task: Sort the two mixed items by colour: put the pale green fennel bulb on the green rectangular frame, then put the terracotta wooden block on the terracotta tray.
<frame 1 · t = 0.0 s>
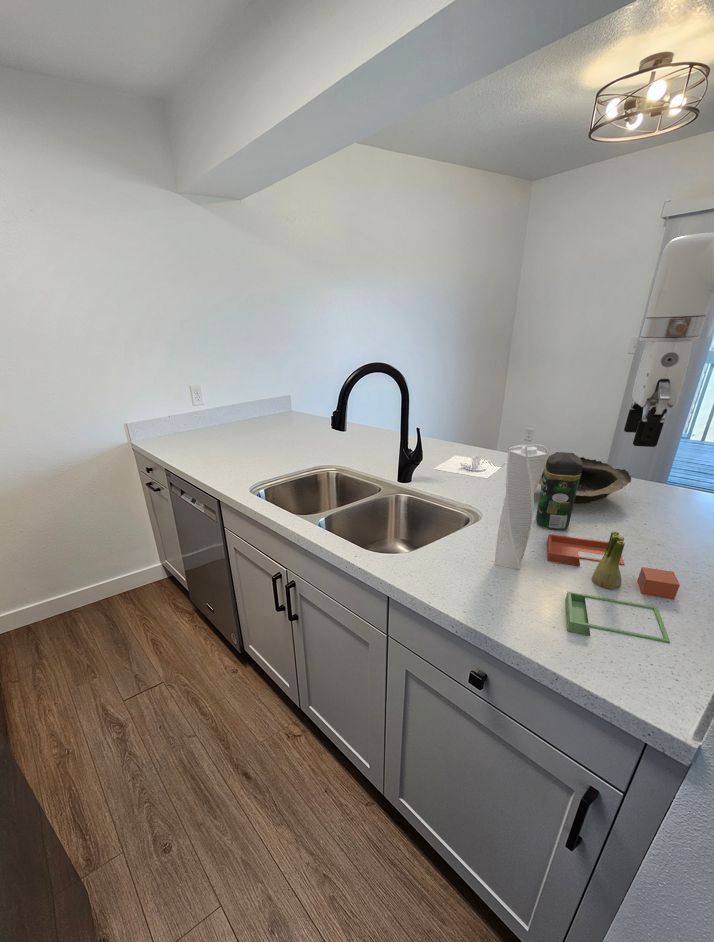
hand: (638, 438, 76), 30 cm above the worktop, tool pointing down, fingers open, 9 cm apart
fennel bulb: (603, 590, 88), on the worktop
coffee jar: (550, 524, 115), on the worktop
teacup and saucer: (469, 466, 160), on the worktop
stone bowl: (572, 498, 129), on the worktop
skyscraper: (508, 562, 99), on the worktop
green rectangular frame: (611, 623, 78), on the worktop
terracotta block: (652, 597, 84), on the worktop
terracotta tray: (581, 555, 99), on the worktop
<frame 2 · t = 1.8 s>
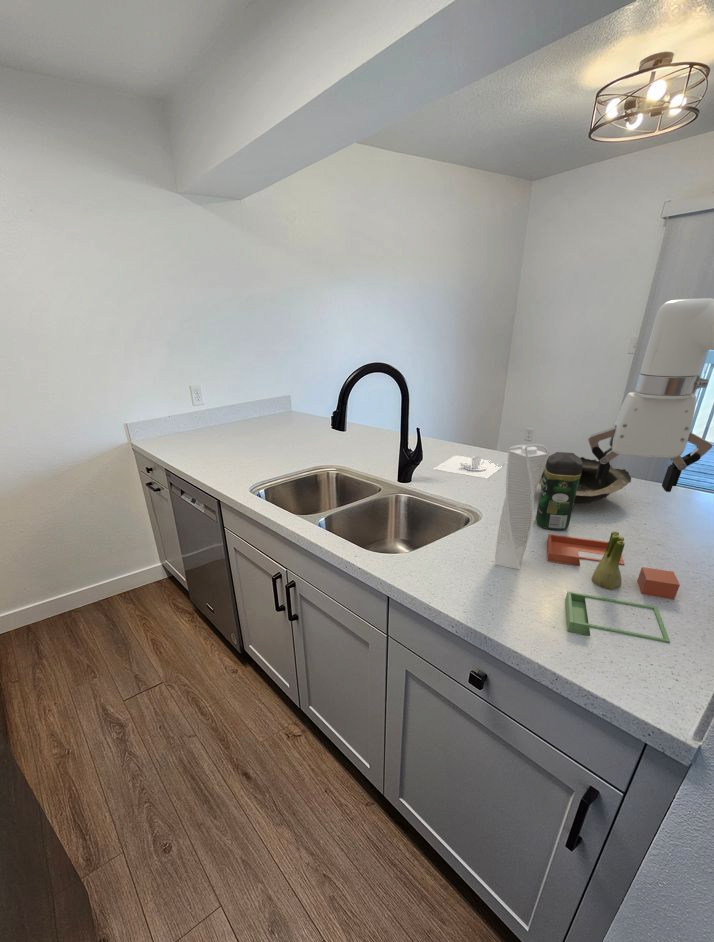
hand: (632, 486, 78), 22 cm above the worktop, tool pointing down, fingers open, 9 cm apart
nothing on the worktop moved.
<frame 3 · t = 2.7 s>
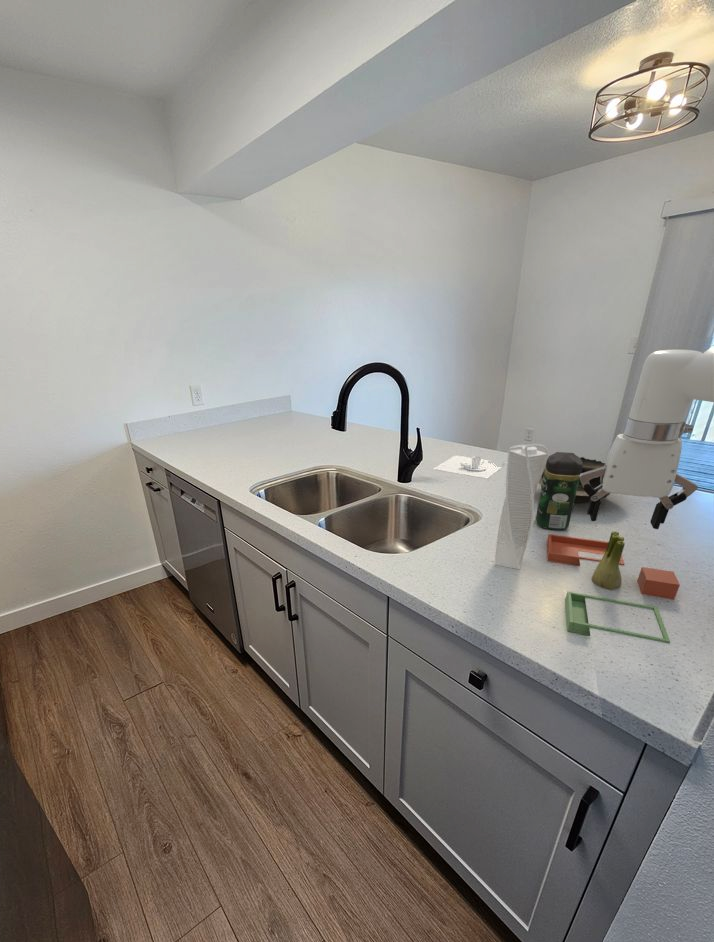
hand: (622, 522, 81), 15 cm above the worktop, tool pointing down, fingers open, 9 cm apart
nothing on the worktop moved.
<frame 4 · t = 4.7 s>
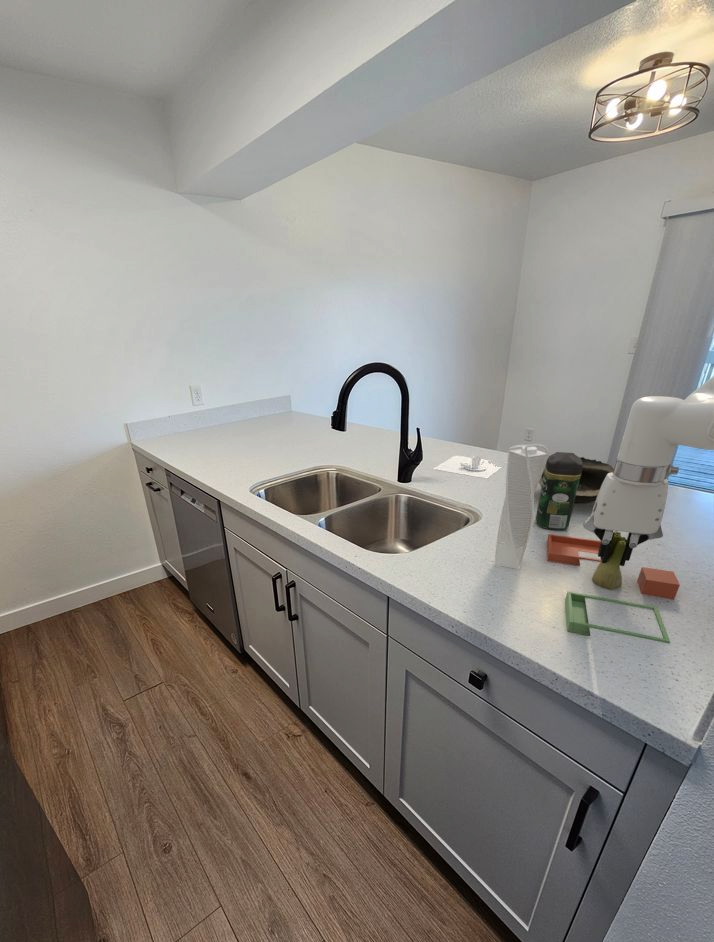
hand: (611, 560, 84), 7 cm above the worktop, tool pointing down, fingers closed on fennel bulb
fennel bulb: (603, 589, 88), on the worktop, touching gripper
everything else where it was.
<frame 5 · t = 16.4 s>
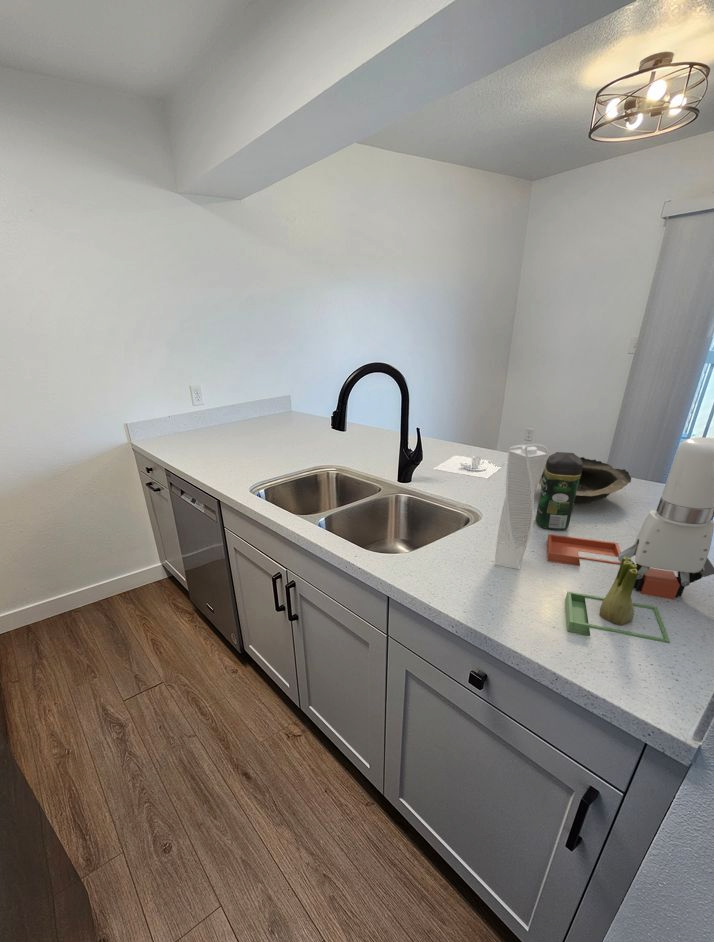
hand: (652, 595, 84), 0 cm above the worktop, tool pointing down, fingers closed on terracotta block, 5 cm apart
fennel bulb: (613, 622, 78), resting on green rectangular frame
terracotta block: (652, 597, 84), on the worktop, touching gripper
everything else where it was.
when the fingers open (1 cm above the worktop, at t = 23.5 s): terracotta block stays where it is, resting on terracotta tray.
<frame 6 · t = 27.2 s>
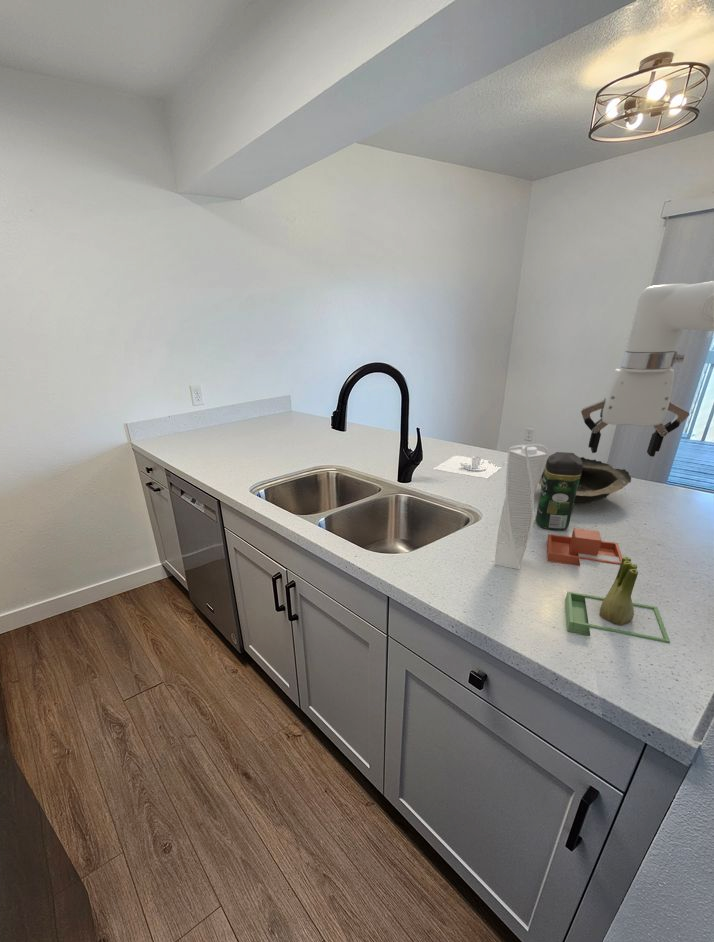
hand: (621, 452, 87), 24 cm above the worktop, tool pointing down, fingers open, 9 cm apart
terracotta block: (582, 553, 99), point 1 cm above the worktop, touching terracotta tray
everything else where it was.
at the end: fennel bulb inside the target area in the green rectangular frame (0.2 cm from its centre), point 0.4 cm above the green rectangular frame's base; terracotta block inside the target area in the terracotta tray (0.0 cm from its centre), point 0.6 cm above the terracotta tray's base; the gripper is holding nothing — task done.
